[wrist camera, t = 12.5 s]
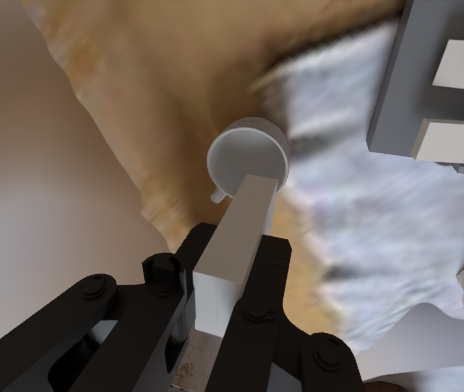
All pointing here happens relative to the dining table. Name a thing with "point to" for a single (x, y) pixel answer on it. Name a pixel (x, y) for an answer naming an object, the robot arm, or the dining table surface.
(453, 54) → the rocker
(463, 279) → the jar
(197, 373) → the vase
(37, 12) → the dining table surface
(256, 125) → the teacup
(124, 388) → the robot arm
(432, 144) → the rocker
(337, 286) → the dining table surface
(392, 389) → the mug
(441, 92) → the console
